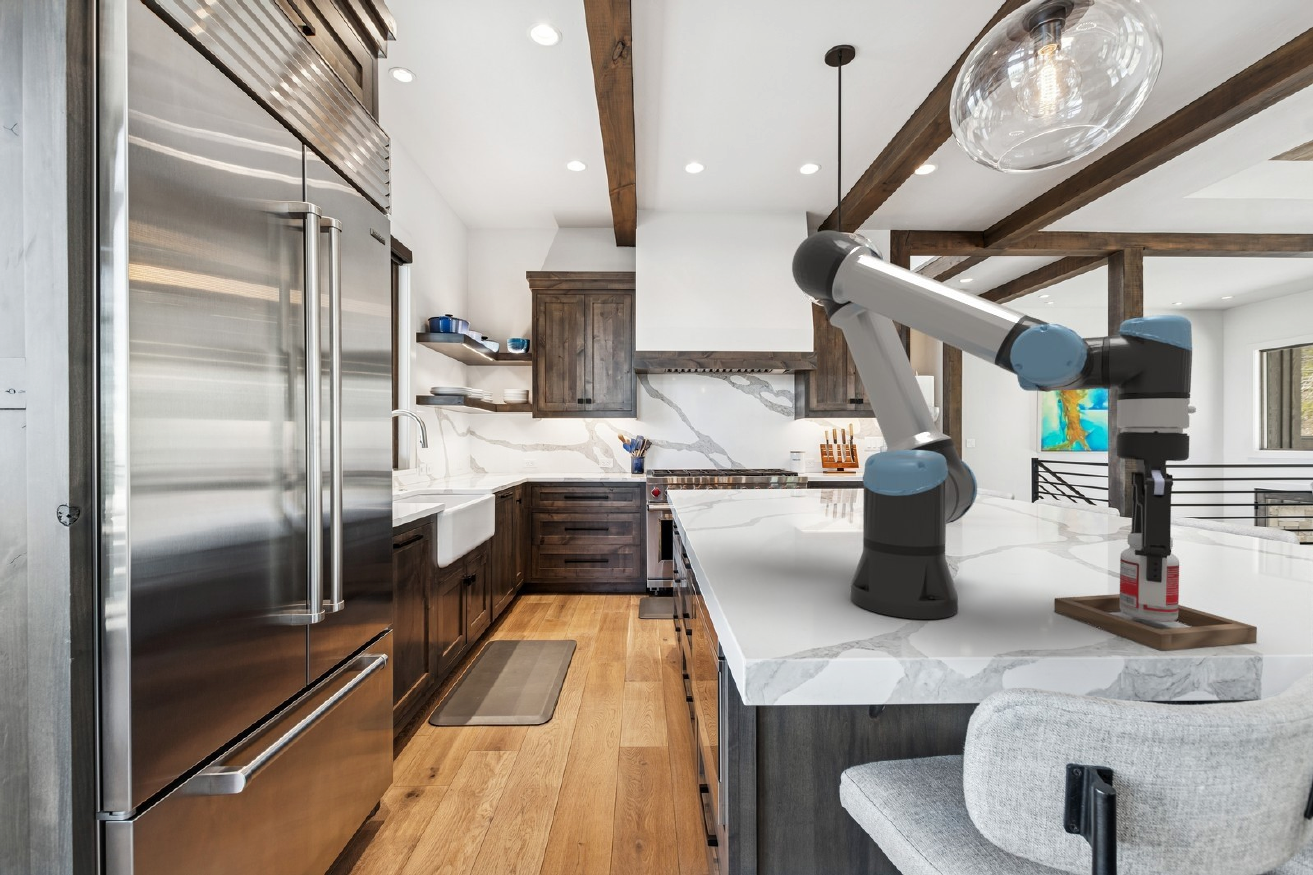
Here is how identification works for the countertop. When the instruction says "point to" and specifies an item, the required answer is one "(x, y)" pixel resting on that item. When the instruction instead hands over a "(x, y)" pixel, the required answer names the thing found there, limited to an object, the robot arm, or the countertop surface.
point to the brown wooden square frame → (1202, 634)
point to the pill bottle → (1131, 585)
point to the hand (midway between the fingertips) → (1147, 598)
